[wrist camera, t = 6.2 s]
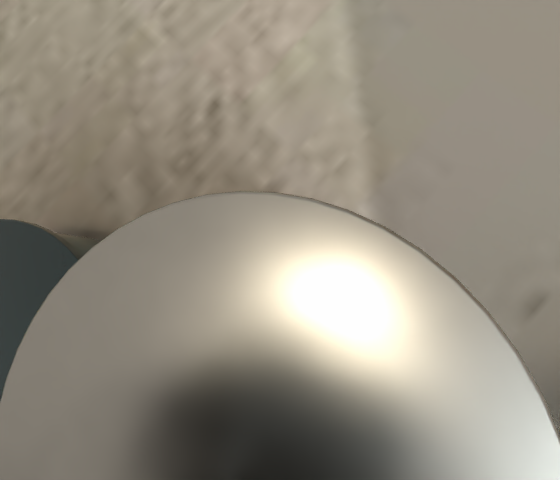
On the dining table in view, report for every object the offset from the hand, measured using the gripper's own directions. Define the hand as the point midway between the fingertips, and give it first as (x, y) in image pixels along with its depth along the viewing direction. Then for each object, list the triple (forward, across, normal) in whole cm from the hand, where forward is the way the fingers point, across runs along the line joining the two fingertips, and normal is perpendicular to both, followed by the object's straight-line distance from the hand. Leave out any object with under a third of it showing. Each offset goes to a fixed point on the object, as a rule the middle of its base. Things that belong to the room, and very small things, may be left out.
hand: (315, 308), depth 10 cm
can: (+4, 0, +6) cm, 7 cm away
